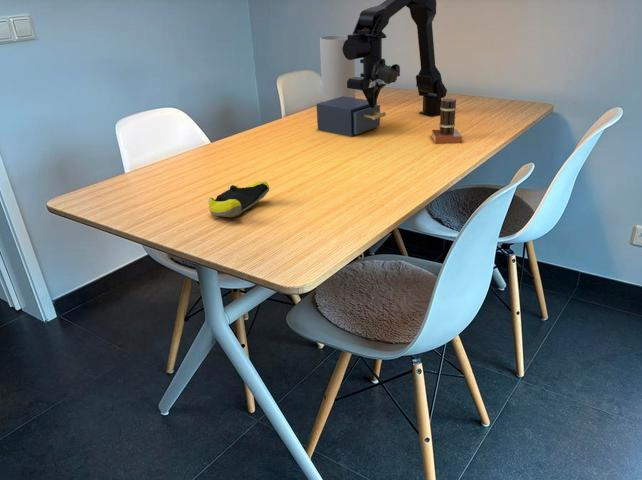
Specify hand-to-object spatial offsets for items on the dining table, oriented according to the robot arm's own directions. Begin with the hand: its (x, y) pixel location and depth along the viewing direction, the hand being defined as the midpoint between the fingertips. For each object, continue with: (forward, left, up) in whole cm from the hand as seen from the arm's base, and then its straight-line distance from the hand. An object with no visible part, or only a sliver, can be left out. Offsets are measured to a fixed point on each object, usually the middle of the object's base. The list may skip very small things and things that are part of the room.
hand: (372, 107), depth 176 cm
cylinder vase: (-37, +12, -8) cm, 40 cm away
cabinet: (-10, -3, -8) cm, 13 cm away
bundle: (+20, +13, -6) cm, 25 cm away
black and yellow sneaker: (+31, -63, -8) cm, 71 cm away
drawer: (-6, -2, -7) cm, 9 cm away
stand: (+20, +13, -8) cm, 26 cm away
